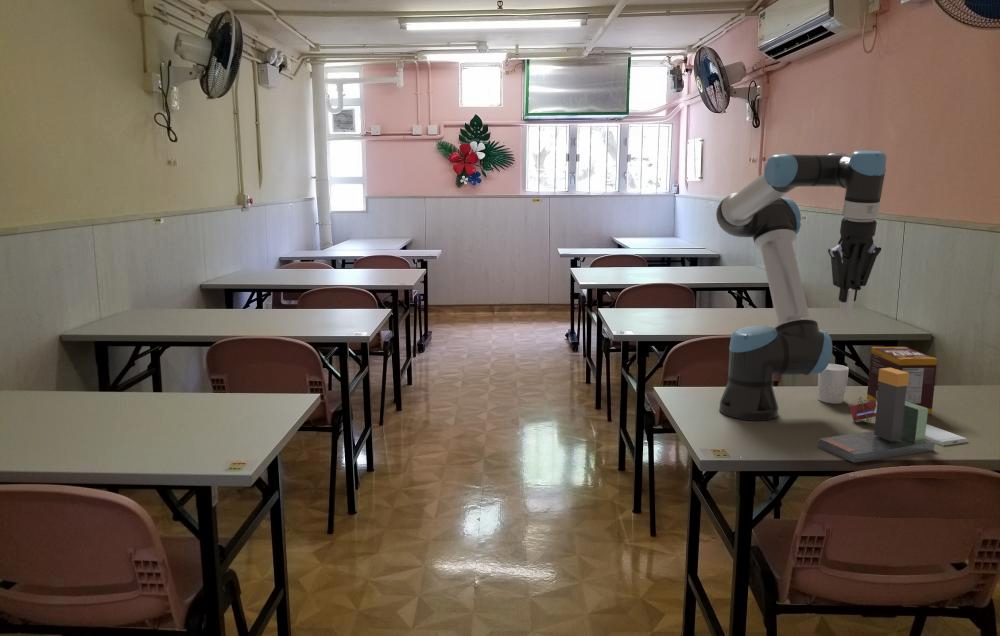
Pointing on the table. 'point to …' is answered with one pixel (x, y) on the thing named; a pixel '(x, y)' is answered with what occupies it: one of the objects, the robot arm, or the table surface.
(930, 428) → the hard drive
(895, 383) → the lever
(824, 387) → the white cup
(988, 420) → the table surface
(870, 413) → the geometric puzzle
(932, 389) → the supplement box
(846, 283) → the robot arm
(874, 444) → the grey base stand
